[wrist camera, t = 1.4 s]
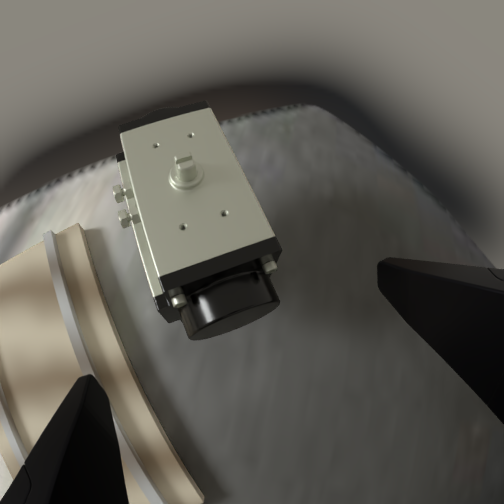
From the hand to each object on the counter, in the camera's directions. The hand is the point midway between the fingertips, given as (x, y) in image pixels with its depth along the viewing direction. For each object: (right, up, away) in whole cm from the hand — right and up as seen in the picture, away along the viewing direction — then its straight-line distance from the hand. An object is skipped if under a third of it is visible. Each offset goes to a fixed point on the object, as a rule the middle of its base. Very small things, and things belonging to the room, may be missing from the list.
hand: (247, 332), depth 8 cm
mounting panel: (-14, -8, +9) cm, 19 cm away
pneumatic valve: (-4, +1, +14) cm, 15 cm away
